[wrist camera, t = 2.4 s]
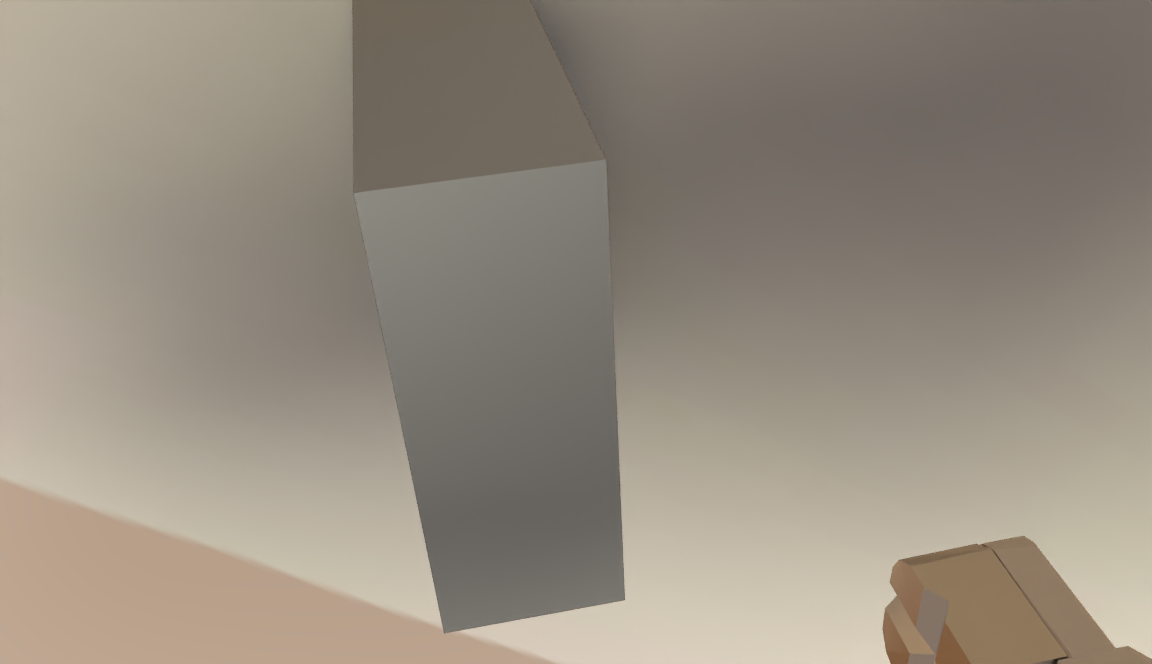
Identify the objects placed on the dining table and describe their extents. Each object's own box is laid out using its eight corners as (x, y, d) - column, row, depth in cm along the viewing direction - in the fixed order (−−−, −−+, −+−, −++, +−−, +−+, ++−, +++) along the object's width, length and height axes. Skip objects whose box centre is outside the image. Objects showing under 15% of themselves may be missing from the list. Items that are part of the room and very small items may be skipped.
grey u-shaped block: (521, -19, 18) (606, 159, 12) (552, 340, 23) (624, 599, 17) (352, 0, 18) (352, 192, 12) (419, 361, 22) (443, 633, 16)
